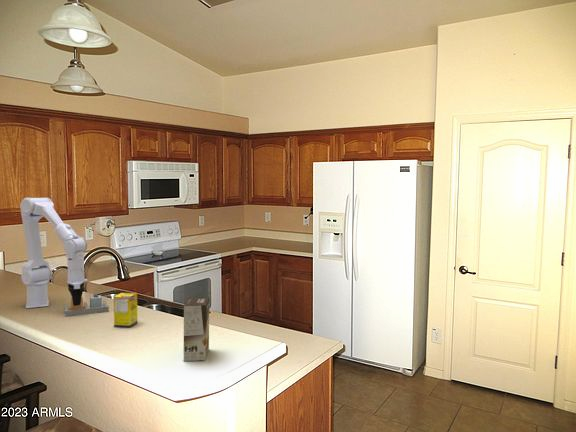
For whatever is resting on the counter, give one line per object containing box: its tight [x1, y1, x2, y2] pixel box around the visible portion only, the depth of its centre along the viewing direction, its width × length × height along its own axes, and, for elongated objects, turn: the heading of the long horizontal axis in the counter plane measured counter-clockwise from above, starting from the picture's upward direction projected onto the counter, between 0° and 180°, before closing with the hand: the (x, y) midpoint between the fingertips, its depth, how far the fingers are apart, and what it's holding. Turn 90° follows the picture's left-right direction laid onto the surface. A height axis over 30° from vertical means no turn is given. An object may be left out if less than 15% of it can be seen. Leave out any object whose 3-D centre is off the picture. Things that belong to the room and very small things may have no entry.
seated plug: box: [89, 293, 103, 308], centre depth 168 cm, size 4×4×6 cm
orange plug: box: [70, 296, 84, 310], centre depth 165 cm, size 4×4×6 cm
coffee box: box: [183, 296, 210, 362], centre depth 123 cm, size 9×6×16 cm
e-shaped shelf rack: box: [64, 299, 110, 317], centre depth 166 cm, size 11×15×2 cm
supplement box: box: [113, 292, 138, 329], centre depth 149 cm, size 6×6×11 cm
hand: (76, 303), depth 165 cm, fingers open, 6 cm apart
